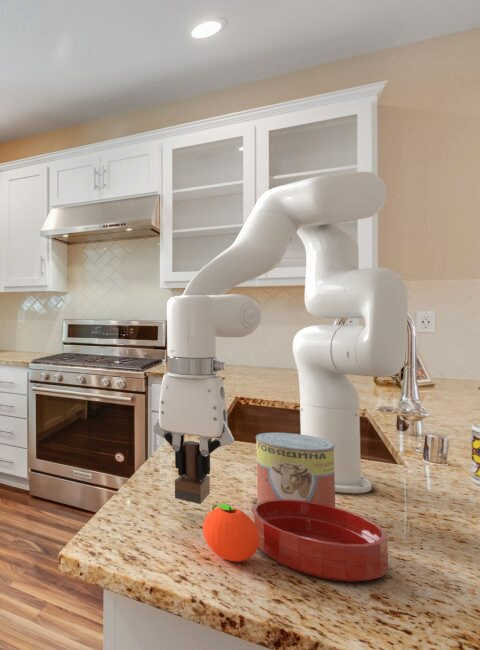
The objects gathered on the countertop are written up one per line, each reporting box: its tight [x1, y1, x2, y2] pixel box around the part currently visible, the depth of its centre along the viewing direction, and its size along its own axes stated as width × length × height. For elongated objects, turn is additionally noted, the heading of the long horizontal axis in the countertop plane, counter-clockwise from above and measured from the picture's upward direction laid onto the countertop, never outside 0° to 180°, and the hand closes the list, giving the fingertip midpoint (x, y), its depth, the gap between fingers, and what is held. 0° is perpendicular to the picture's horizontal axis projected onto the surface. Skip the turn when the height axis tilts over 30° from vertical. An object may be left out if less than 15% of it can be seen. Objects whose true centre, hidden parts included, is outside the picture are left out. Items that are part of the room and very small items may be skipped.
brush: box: [174, 440, 211, 505], centre depth 81 cm, size 6×4×9 cm, turn 140°
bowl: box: [251, 499, 389, 583], centre depth 67 cm, size 15×15×5 cm
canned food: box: [255, 431, 336, 507], centre depth 82 cm, size 11×11×12 cm
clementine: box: [202, 503, 259, 562], centre depth 67 cm, size 8×7×7 cm
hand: (192, 474), depth 81 cm, fingers closed on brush, 2 cm apart
